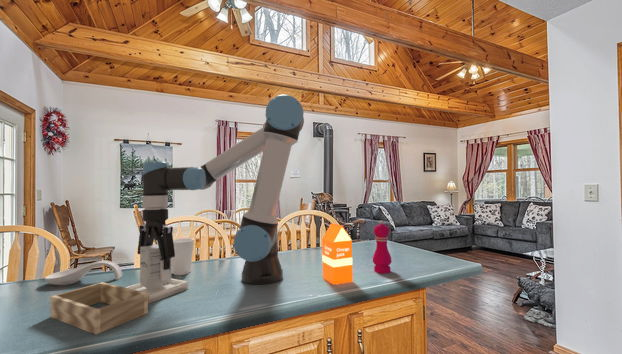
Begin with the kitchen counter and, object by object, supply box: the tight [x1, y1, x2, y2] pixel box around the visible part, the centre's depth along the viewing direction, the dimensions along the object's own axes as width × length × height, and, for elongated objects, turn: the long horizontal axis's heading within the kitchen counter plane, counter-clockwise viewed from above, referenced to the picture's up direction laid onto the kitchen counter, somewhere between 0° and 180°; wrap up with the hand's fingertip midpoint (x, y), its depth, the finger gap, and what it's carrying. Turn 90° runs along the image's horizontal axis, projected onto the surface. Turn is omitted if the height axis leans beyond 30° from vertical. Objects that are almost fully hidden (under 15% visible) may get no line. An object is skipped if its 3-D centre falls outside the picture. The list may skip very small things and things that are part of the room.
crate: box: [49, 281, 149, 335], centre depth 82 cm, size 22×13×6 cm, turn 62°
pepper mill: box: [372, 220, 393, 274], centre depth 118 cm, size 7×7×20 cm
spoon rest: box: [44, 259, 123, 286], centre depth 112 cm, size 24×12×7 cm, turn 105°
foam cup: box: [171, 237, 195, 276], centre depth 120 cm, size 10×9×13 cm
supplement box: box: [139, 243, 172, 290], centre depth 99 cm, size 7×7×13 cm
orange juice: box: [321, 222, 354, 286], centre depth 109 cm, size 8×9×20 cm
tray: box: [125, 277, 189, 305], centre depth 98 cm, size 14×14×2 cm
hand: (155, 277), depth 98 cm, fingers closed on supplement box, 8 cm apart
